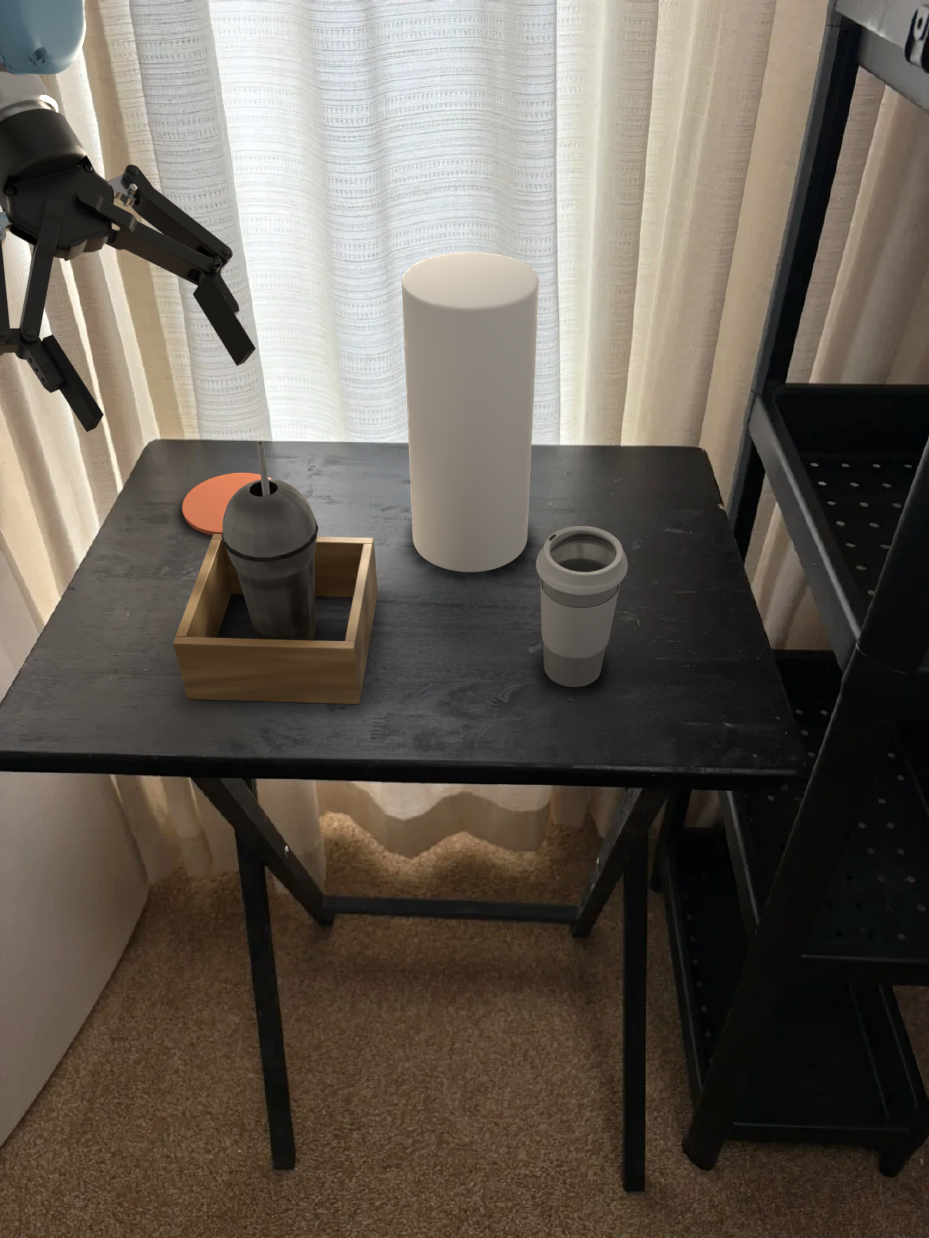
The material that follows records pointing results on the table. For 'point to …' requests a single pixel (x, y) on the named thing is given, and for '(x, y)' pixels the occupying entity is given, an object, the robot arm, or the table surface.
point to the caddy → (279, 663)
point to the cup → (578, 601)
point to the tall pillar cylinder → (470, 406)
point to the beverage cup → (273, 555)
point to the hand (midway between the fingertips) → (174, 389)
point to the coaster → (213, 501)
